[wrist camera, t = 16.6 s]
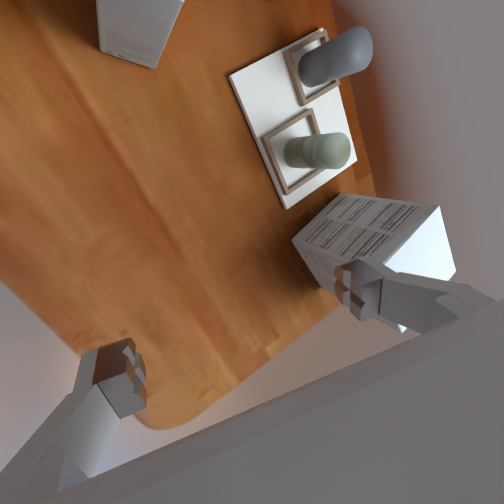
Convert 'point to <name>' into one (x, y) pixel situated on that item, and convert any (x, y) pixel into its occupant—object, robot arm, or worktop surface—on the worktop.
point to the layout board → (300, 102)
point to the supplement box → (376, 239)
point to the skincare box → (136, 28)
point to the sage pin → (318, 151)
